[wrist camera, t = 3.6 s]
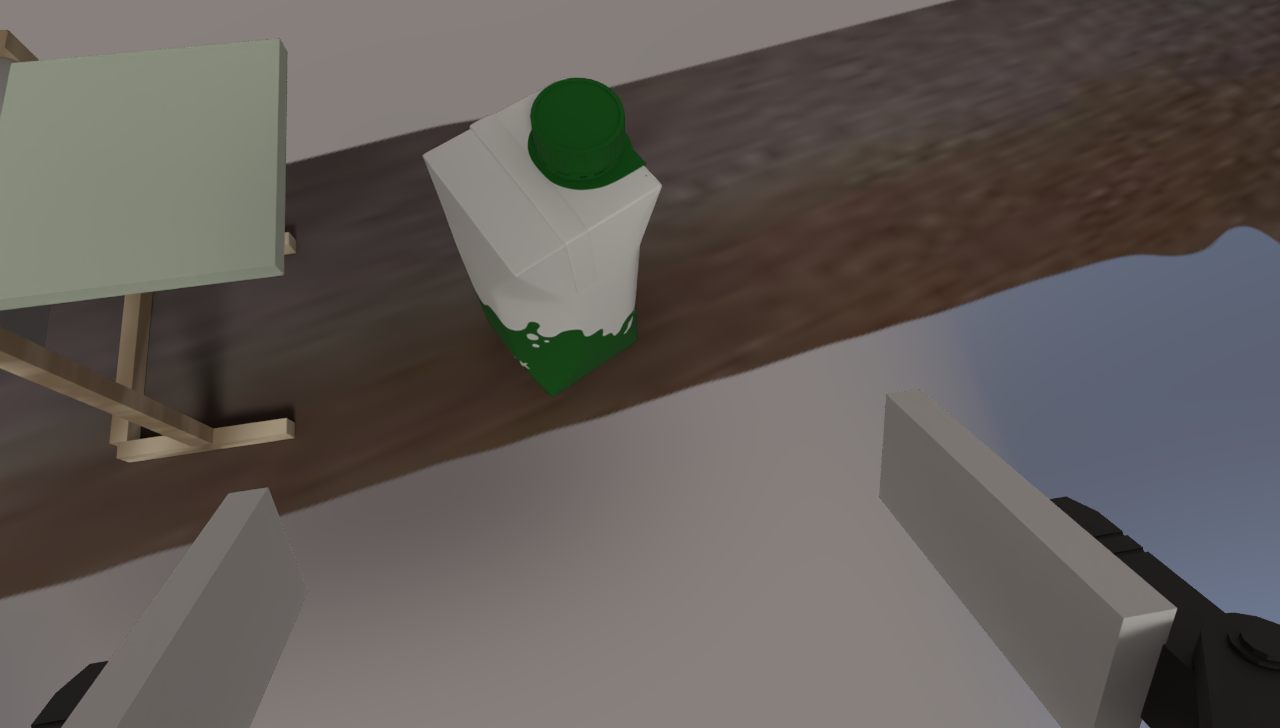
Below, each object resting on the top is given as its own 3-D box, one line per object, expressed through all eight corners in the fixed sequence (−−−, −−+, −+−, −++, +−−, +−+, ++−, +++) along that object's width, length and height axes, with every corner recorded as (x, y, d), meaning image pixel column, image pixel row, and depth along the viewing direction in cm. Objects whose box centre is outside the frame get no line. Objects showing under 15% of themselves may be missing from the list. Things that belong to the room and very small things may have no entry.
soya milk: (656, 343, 47) (686, 158, 28) (546, 418, 44) (499, 271, 26) (582, 252, 49) (564, 25, 30) (475, 319, 47) (383, 118, 28)
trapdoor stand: (121, 463, 42) (-235, 350, 24) (140, 259, 47) (-143, 43, 29) (294, 438, 43) (74, 311, 25) (296, 241, 48) (112, 20, 30)
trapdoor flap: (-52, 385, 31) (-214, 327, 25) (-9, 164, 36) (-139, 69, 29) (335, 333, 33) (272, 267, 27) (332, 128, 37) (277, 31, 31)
